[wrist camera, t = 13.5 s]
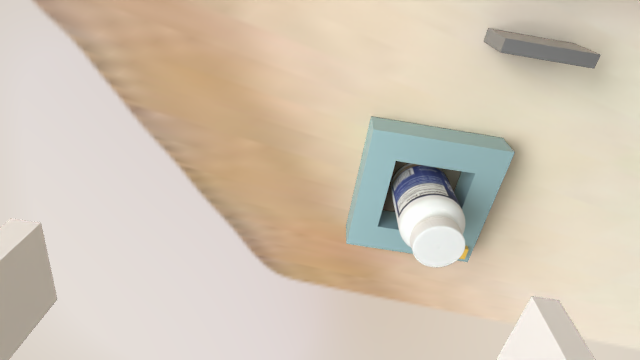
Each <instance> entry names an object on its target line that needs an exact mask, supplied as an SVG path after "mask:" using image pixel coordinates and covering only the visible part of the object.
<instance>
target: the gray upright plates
mask: <svg viewBox="0 0 640 360" xmlns="http://www.w3.org/2000/svg"><path fill="white" fill-rule="evenodd" d="M484 42H485V43H487V44H488V45H490V46H492V47H493V48H495V49H496V50H498V51H499V52H501V53H507V54H512V55H518V56H524V57H530V58H536V59H541V60H547V61H553V62H559V63H565V64H570V65H576V66H582V67H588V68H595V66H596V64H597V62H598V60H599V57H600V54H598V53H596V52H593V51H591V50H588V49H586V48H584V47H581V46H579V45H576V44H574V43H569V42H563V41H557V40H552V39H546V38H540V37H535V36H529V35H523V34H517V33H512V32H506V31H500V30H494V29H489V28H488V30H487V33H486V36H485V39H484Z"/></svg>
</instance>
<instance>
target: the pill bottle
mask: <svg viewBox="0 0 640 360" xmlns="http://www.w3.org/2000/svg"><path fill="white" fill-rule="evenodd" d="M391 193H392V198H393V203H394V208H395V213H396V219H397V223H398V228H399V232H400V235H401V237H402V239H403V240H404V242H405V243H406V244H407V245H408V246H409V247H411V248H412V251H413V254H414V256H415V258H416V259H417V260H418V261H419V262H420V263H422V264H423V265H426V266H429V267H444V266H447V265H450V264H452V263H454V262H455V261H457V260H458V259H459V258H460V257H461V256H462V254H463V252H464V250H465V239H464V236H463V233H464V230H465V216H464V214H463V211H462V208H461V206H460V204H459V202H458V200H457V198H456V196H455V194H454V192H453V189H452V187H451V185H450V183H449V181H448V179H447V177H446V175H445V173H444V172H443V170H442V169H441V168H437V167H431V166H424V165H418V164H412V163H409V164H407V165H405V166H403V167H402V168H400V169H399V170H398V171H397V173H396V174H395V175H394V177H393V179H392V183H391Z"/></svg>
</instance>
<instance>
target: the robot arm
mask: <svg viewBox="0 0 640 360" xmlns="http://www.w3.org/2000/svg"><path fill="white" fill-rule="evenodd" d="M56 300H57V295H56V290H55V286H54V281H53V277H52V272H51V267H50V263H49V258H48V253H47V249H46V244H45V240H44V235H43V230H42V225H41V223H39V222H32V221H26V220H19V219H12V218H11V219H9V220H8V221H7V222H6V223H5V224H3V225H2V226H1V227H0V360H9V359H10V358H11V357H12V355H13V354H14V353H15V351H16V350H17V349H18V348H19V346H20V345H21V344H22V343H23V341H24V340H25V339H26V338H27V336H28V335H29V334H30V333H31V332H32V330H33V329H34V328H35V327H36V325H37V324H38V323H39V322H40V320H41V319H42V318H43V317H44V315H45V314H46V313H47V312H48V310H49V309H50V308H51V307H52V305H53V304H54V303H55V302H56ZM496 360H596V359H595V358H594V356H593V355H592V353H591V351H590V350H589V348H588V347H587V345H586V343H585V342H584V340H583V338H582V337H581V335H580V334H579V332H578V330H577V329H576V327H575V325H574V324H573V322H572V321H571V319H570V317H569V316H568V314H567V312H566V311H565V309H564V308H563V306H562V304H561V303H560V301H559V300H554V299H548V298H541V297H534V296H531V298H530V300H529V302H528V304H527V305H526V307H525V309H524V311H523V313H522V314H521V316H520V318H519V320H518V322H517V323H516V325H515V327H514V329H513V331H512V332H511V334H510V336H509V338H508V339H507V341H506V343H505V345H504V347H503V348H502V350H501V352H500V354H499V356H498V357H497V359H496Z"/></svg>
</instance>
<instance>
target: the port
mask: <svg viewBox="0 0 640 360" xmlns="http://www.w3.org/2000/svg"><path fill="white" fill-rule="evenodd" d="M514 153H515V152H514V151H513V150H512V149H511V147H510V146H509V145H508V144H507V143H506V141H505V140H504V139H503V138H500V137H494V136H487V135H481V134H475V133H469V132H463V131H457V130H451V129H445V128H439V127H433V126H426V125H420V124H414V123H408V122H402V121H396V120H390V119H384V118H378V117H372V116H371V119H370V124H369V128H368V132H367V137H366V141H365V146H364V150H363V154H362V159H361V163H360V167H359V172H358V176H357V180H356V185H355V189H354V193H353V198H352V202H351V206H350V211H349V215H348V220H347V224H346V243H347V244H352V245H359V246H366V247H372V248H379V249H385V250H392V251H399V252H405V253H412V254H413V251H412V248H411V247H409V246H408V245H407V244H406V243H405V242H404V240H403V239H402V237H401V235H400V232H399V228H398V223H397V219H396V213H395V212H391V211H384V210H382V209H383V206H384V202H385V198H386V195H387V191H388V188H389V184H390V180H391V177H392V173H393V170H394V166H395V162H396V161H400V162H406V163H412V164H418V165H424V166H431V167H437V168H443V169H449V170H456V171H461V174H460V177H459V180H458V182H457V185H456V188H455V190H454V194H455V196H456V198H457V200H458V202H459V204H460V206H461V208H462V211H463V214H464V216H465V230H464V233H463V236H464V239H465V250H464V252H463V254H462V256H461V257H460V258H459V259H458V261H464V262H468V260H469V258H470V255H471V253H472V251H473V248H474V246H475V244H476V241H477V239H478V237H479V234H480V232H481V230H482V227H483V225H484V223H485V220H486V218H487V216H488V213H489V211H490V209H491V207H492V204H493V202H494V200H495V197H496V195H497V193H498V190H499V188H500V186H501V183H502V181H503V179H504V176H505V174H506V172H507V169H508V167H509V165H510V162H511V160H512V158H513V155H514Z"/></svg>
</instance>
